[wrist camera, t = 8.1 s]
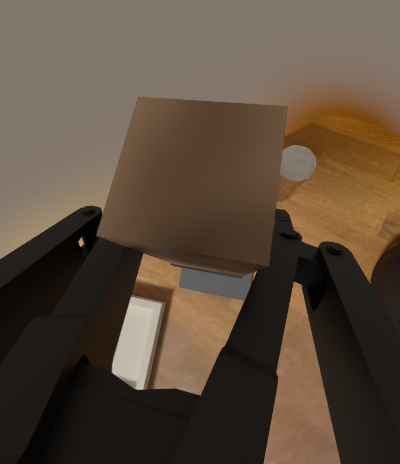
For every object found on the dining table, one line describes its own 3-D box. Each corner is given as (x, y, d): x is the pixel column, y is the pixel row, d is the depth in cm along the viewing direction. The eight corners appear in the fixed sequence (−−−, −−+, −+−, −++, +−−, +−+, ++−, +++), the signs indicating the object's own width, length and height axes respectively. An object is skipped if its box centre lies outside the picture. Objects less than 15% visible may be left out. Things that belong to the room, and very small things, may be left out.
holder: (166, 302, 31) (161, 303, 29) (144, 402, 28) (138, 412, 26) (98, 287, 33) (89, 287, 30) (71, 380, 30) (60, 388, 28)
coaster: (257, 232, 32) (258, 231, 31) (248, 300, 30) (248, 301, 29) (192, 222, 33) (192, 221, 33) (179, 286, 31) (178, 286, 31)
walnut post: (246, 224, 20) (291, 103, 7) (238, 279, 19) (272, 270, 5) (193, 216, 21) (136, 94, 7) (182, 268, 20) (91, 238, 6)
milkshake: (259, 177, 34) (273, 134, 24) (294, 178, 33) (323, 135, 23) (258, 203, 33) (271, 170, 23) (294, 206, 32) (324, 173, 22)
